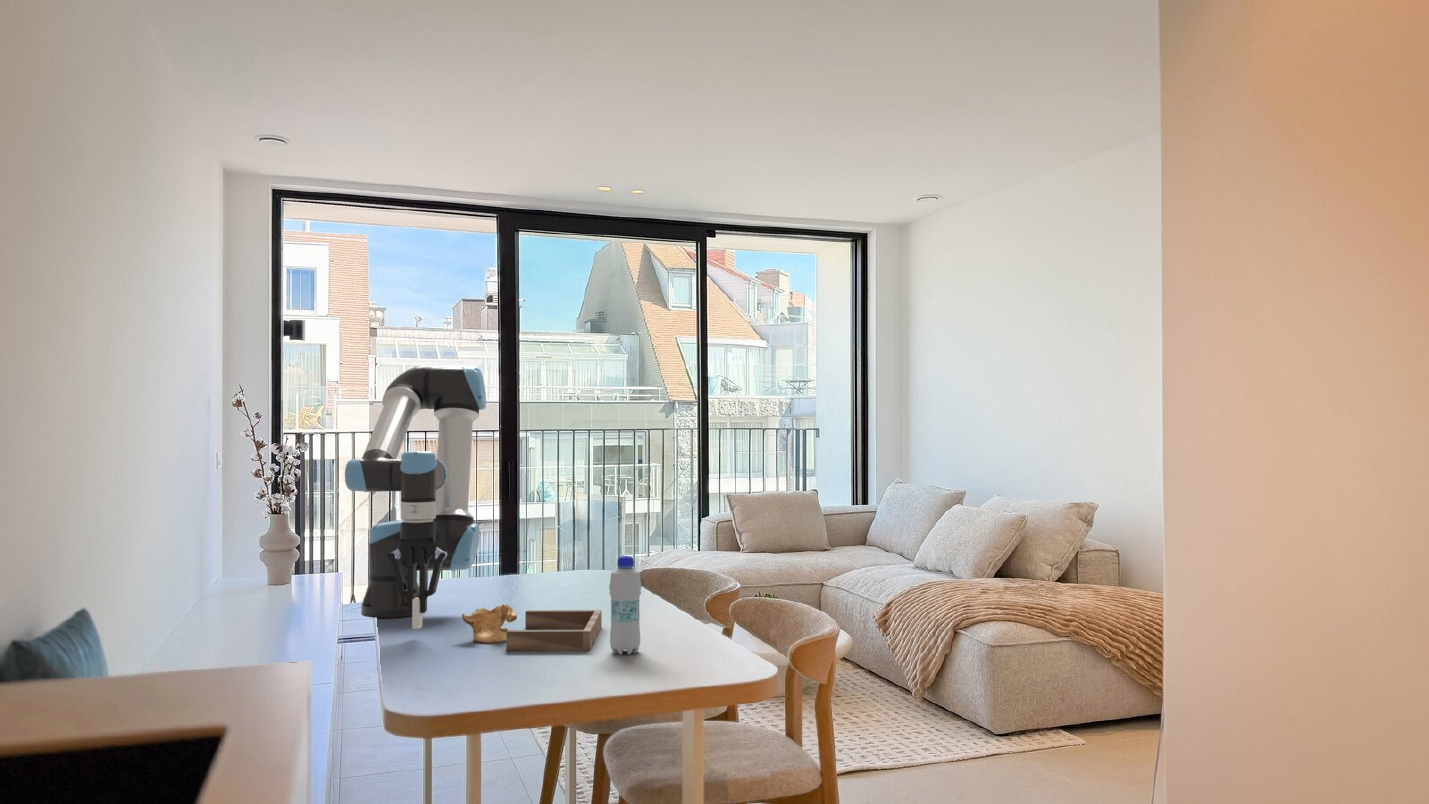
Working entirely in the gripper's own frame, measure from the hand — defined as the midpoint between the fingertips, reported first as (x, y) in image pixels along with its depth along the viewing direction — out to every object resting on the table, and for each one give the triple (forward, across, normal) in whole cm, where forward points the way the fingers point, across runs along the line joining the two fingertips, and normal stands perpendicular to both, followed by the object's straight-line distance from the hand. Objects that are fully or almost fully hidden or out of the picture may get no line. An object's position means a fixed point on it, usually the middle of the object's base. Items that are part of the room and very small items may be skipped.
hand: (417, 627), depth 217 cm
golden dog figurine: (+3, +17, -1) cm, 17 cm away
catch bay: (+3, +30, 0) cm, 30 cm away
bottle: (+3, +47, -14) cm, 49 cm away
